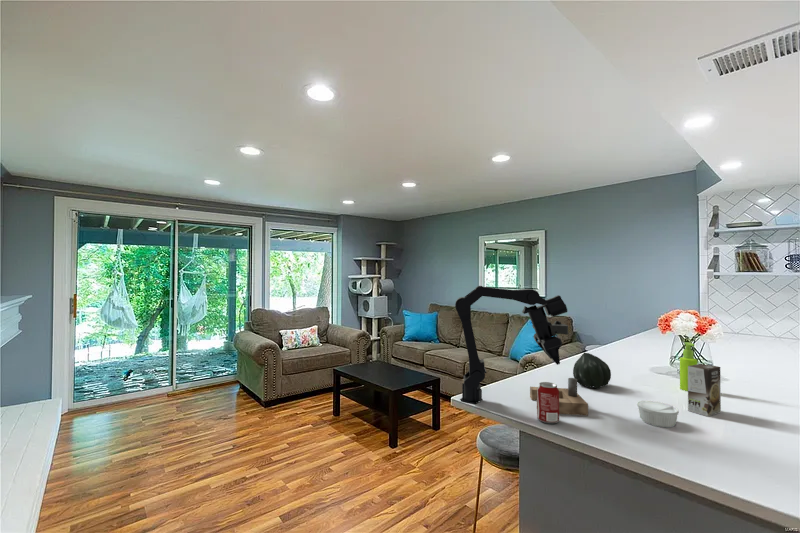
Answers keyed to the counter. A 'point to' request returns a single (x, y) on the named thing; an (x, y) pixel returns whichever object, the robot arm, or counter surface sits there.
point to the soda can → (548, 403)
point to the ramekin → (657, 413)
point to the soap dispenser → (686, 365)
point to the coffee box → (704, 389)
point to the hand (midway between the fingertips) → (555, 361)
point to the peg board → (567, 399)
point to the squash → (591, 371)
